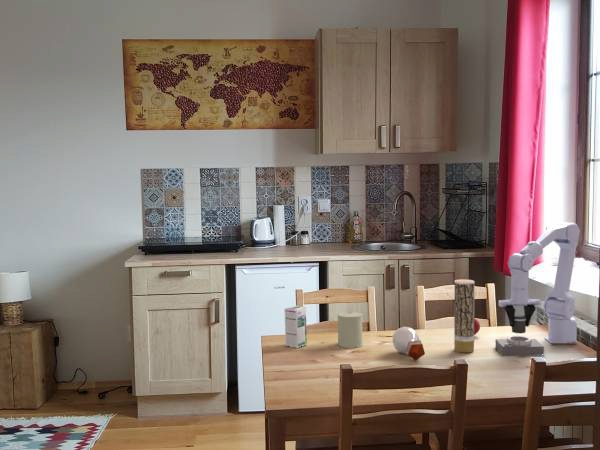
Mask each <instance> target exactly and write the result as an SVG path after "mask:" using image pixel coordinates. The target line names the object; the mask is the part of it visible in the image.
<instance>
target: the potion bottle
mask: <svg viewBox="0 0 600 450" xmlns="http://www.w3.org/2000/svg"><path fill="white" fill-rule="evenodd" d="M392 343H393V344H392V345H393V347H394V349H395V351H398V352H399V353H400V354H404V355H407V356H408V357H409V358H411V359H412V360H414V361H416V360H417V361H418V360H419V359H421V358H422V357H423V356H424V355H425V354H426V352H425V349H424V345H423V343H422V340H420V337H419V335H418V331H416V330H415V329H414V328H412V327H409V326H402V327H399V328H397V329H396V330H395V331H394V332H393V334H392Z"/></svg>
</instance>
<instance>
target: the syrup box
mask: <svg viewBox="0 0 600 450" xmlns="http://www.w3.org/2000/svg"><path fill="white" fill-rule="evenodd" d="M306 309H307V308H306V307H305V306H303V305H293V306H289V307H285V308H284V331H285V332H284V333H285V335H284V336H285V346H286V347H287V346H291V347H290V348H292V347H296V348H295V349H297V348H298V349H299V347H300V348H302V347H304V345H305V346H307V345H308V338H307V335H308V334H307V316H306V315H307V310H306ZM306 344H307V345H306ZM301 346H302V347H301Z"/></svg>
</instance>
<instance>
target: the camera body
mask: <svg viewBox="0 0 600 450" xmlns="http://www.w3.org/2000/svg"><path fill="white" fill-rule="evenodd" d="M495 349H498V350H499V351H500V352H499V351H498V350H497V351H498V352H499V353H500V354H501V356H544V355H545V354H544V353H545V347H544V345H543V344H541V342H539V341H538V340H537V339H535V338H531V337H529V336H525V335H524V336H523V335H511V336H508V337H506V338H499V339H498V338H495ZM542 354H543V355H542Z"/></svg>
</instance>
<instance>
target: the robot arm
mask: <svg viewBox="0 0 600 450" xmlns="http://www.w3.org/2000/svg"><path fill="white" fill-rule="evenodd" d="M545 227H546V228H545V231H544V232H542V233H541V234H540V236H539V237H538V238H537V239H536V241H529V242H527V244H526V245H525V246H524V247H523V248H521V249H520V250H519V251H518V253H513V254H512V255H510V256H509V258H508V261H507V266H508V268H509V273H510V275H511V279H510V281H511V283H510V285H511V287H510V288H511V289H510V290H511V291H510V292H511V293H510V294H511V295H510V298H509V299H502V300H500V299H499V300H498V303H497V304H498V307H500V308H503V309H504V311H505V313H506V315H507V318H508V323H509V326H510V327H511V328H512V327H514V315H516V314H515V313H516V308H515V307H523V310H524V311H523V312H524V313H523V314H524V316H526V328H527V327H529V326H530V324H531V323H530V322H531V319H532V317H533V314H534V313H535V312H536V310H537V308H536V306H538V307H541V306H542V300H541V299H538V298H537V299H535V298H534V299H533V298H529V281H530V280H529V279H530V278H529V277H530V276H529V275H530V274H529V273H530V272H529V271H531V270H532V268H533V264H534V263H535V261H536V260H537V259H539V257H540V256H541V255H542V254H543V253H544V251H543V249H545V248H546V247H547V246H548V245H550V244H551V243H553V242H554V243H555V244H556V245H558V246H559V248H560V249H559V254H558V255H559V256H558V260H557V268H556V273H555V279H554V284H553V285H554V286H553V290H551V291H549V292H548V293H547V294H546V298H545V301H544V302H543V312H544V313H545V314H546V317H547V318H548V324H547V325H548V328H547V329H548V332H547V333H548V335H547V336H544V339H545V340H546V341H548V342H549V343H550V344H564V343H563V342H577V331H578V330H577V320H576V318H575V317H573V316H574V314H575V312H576V307H575V305H576V304H575V300H576V298H574V296H573V295H572V294H571V293H570V287H571V281H572V275H573V268H574V263H575V257H576V250H577V246H578V245H579V240H580V233H581V229H580V227H579V226H578V224H577V223H576V222H563V221H561V222H560V221H553V220H552V221H550V222H549V223H548V224H547V225H546V226H545Z"/></svg>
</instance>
